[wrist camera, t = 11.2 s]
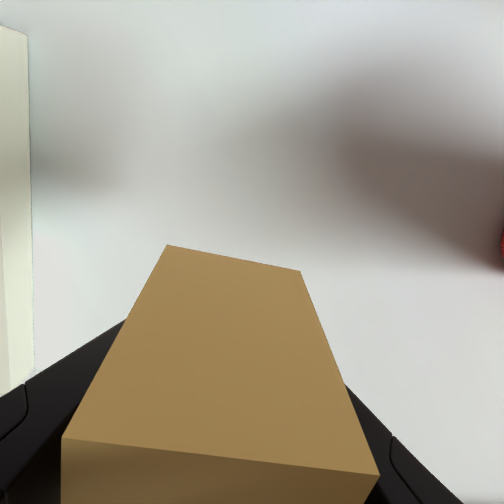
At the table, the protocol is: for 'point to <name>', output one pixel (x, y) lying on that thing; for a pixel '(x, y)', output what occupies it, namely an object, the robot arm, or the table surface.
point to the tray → (15, 214)
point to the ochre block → (217, 397)
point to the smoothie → (502, 244)
